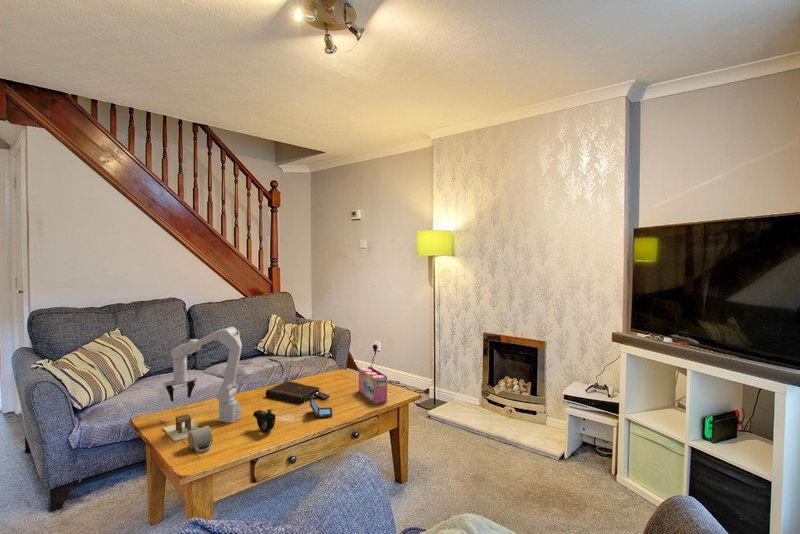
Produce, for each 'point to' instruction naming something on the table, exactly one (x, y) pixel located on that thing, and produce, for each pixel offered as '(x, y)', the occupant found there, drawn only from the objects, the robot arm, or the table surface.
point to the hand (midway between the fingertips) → (180, 399)
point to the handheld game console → (320, 410)
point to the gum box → (373, 384)
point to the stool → (183, 418)
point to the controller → (265, 419)
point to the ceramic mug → (200, 438)
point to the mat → (178, 436)
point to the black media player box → (292, 392)
